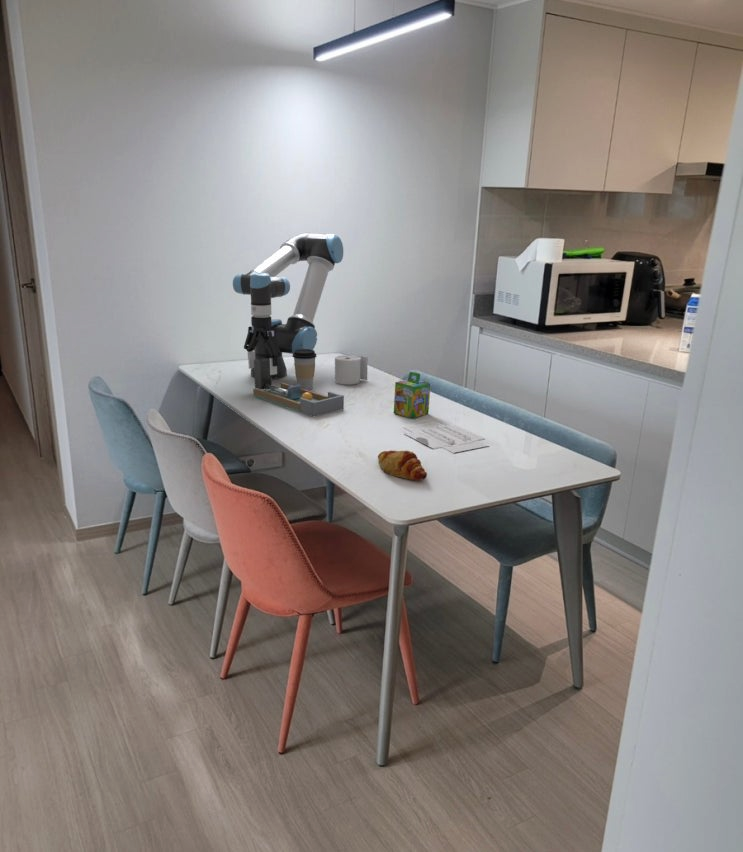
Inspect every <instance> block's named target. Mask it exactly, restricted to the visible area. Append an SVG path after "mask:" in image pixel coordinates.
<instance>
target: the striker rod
mask: <svg viewBox="0 0 743 852" xmlns="http://www.w3.org/2000/svg"><path fill="white" fill-rule="evenodd" d="M254 374H255V377H254V388H256V389H259V390H262V391H264V390H272V391H275V392H278V391H279V390H283V391H285V395H288V399H290V400H293V399H297V398H301V397H302V386H301V385H299V384H297V383H296V384H293V385H292V386H288V387H287V390H285V389H281V388H280V387H277V386H274V385H273V384H272V382H273V381H272V379H271V375H270V359H266V358H262V359H257V360H254Z"/></svg>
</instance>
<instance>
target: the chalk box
mask: <svg viewBox="0 0 743 852" xmlns="http://www.w3.org/2000/svg"><path fill="white" fill-rule="evenodd" d="M413 377H415V378H413ZM407 378H408V379H403V380H398V381H396V382H394V383H395V385H394V399H393V400H394V402H393V414H395V415H399V416H402V417H406V418H408V419H412V420H413V419H416V418H419V417H422V416H426V415H429V410H430V396H431V395H430V394H431V383H430V382H427V381H425V380H420V378H421V374H420V373H419V372H418V373H417V372H413V371H409V374H408V377H407Z"/></svg>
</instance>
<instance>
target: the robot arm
mask: <svg viewBox="0 0 743 852" xmlns="http://www.w3.org/2000/svg"><path fill="white" fill-rule="evenodd" d="M343 244H344V243H343V241H342V239H341V238H340V237H339V235H337V234H333V233H315V232H304V233H300V234H297V235H295V236H293V237H291V238H289V239H288V240H286V241H285V242H283V243H282V244H281V245H280V247H279V249H278V250H277V251H275V252H274V253H273V254H271V255H270V256H268V258H266V259H265V260H263V261H262V262H261V263H260V264H258V265H256V266H255V267H254V268H253V269H251V270H250V271H249V272H247V273H246V274H243V273H241V274H240V273H239V274H236V275H235V276H234V277H233V280H232V287H233V291H234V292H235V293H237V294H240V295H249V296H250V314H251V318H250V321H251V322H250V323H251V326H248V327H247V333H246V334H247V335H246V338H245V342H244V345H243V350H246V352H247V360H248V361H247V362H248V369H249V370H250V376H251V377H253V378H255V374H254V360H257V359H262V358H266V359H270V375H271V380H272V379H274V380H275V379H279V378H284V377H286V376H287V375H288V372H287V371H288V369H287V366H286V363H285V361H284V358H283V353H285V354H289V355H290V354H291V355H293V353H294V351H295V350H299V349H310V350H315V347H316V345H317V341H318V332H317V330H316V326H315V323H314V320H315V316H316V313H317V311H318V310H317V309H318V306H319V303H320V301H321V297H322V294H323V291H324V287H325V284H326V281H327V277H328V274H329V272H332V271H333V269H334V268H335V264H339V263H341V262H342V261H343V258H344V245H343ZM303 261H305V262H307V263H308V268H307V270H306V274H305V277H304V280H303V283H302V285H301V289H300V291H299V292H300V293H299V296H298V298H297V302H296V305H295V308H294V311H293V314H292V315H291V316H289V317H288V318H287V320H286V324H284V323H283V321H282V319H280V318H274V319H272V316H271V315H272V314H273V313H272V299H273V298H282V297H284V296H286V295H288V294H289V293H290V290H291V282H290V281H289V279H288V278H287V277H285V276H279V274H280V273H282V271H284V270H285V269H286V268H288V267H289V266H291V265H295V264H297V263H298V262H303Z"/></svg>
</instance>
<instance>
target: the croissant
mask: <svg viewBox="0 0 743 852" xmlns="http://www.w3.org/2000/svg"><path fill="white" fill-rule="evenodd" d="M377 459H378V464H379V466H380V468H381V469H382V470H383V472H384V473H386V474H390V475H391V476H393V477H396V478H397V477H398V478H401V479H402V478H403V479H405V480H410V481H421V480H425V479H426V478H427V476H428V473H427V472H426V470H425V468H424V467H423V466H422V462H421V460H420V459H418V456H417V455H416V453H415V452H413V451H410V450H407V449H406V450H391V449H390V450H388V451H387V450H384V451H381V452H380V453H379V454H378V455H377Z"/></svg>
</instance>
